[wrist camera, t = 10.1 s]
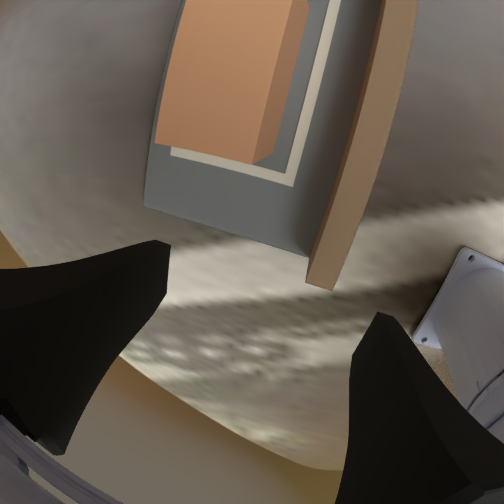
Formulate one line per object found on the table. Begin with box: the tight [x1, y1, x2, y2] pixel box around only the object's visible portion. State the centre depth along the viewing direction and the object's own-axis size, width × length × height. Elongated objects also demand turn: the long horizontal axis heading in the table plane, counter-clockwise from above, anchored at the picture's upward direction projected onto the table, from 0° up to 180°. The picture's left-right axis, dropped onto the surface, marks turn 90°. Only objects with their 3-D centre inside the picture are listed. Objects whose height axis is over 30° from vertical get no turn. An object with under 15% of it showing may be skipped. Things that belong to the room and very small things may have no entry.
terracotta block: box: [155, 0, 309, 165], centre depth 12 cm, size 9×4×5 cm, turn 168°
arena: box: [143, 0, 418, 291], centre depth 13 cm, size 13×20×4 cm, turn 168°
